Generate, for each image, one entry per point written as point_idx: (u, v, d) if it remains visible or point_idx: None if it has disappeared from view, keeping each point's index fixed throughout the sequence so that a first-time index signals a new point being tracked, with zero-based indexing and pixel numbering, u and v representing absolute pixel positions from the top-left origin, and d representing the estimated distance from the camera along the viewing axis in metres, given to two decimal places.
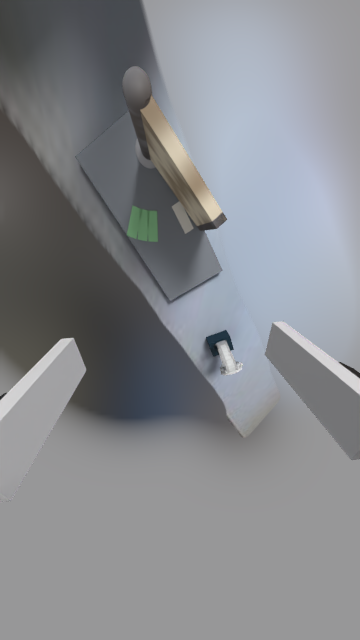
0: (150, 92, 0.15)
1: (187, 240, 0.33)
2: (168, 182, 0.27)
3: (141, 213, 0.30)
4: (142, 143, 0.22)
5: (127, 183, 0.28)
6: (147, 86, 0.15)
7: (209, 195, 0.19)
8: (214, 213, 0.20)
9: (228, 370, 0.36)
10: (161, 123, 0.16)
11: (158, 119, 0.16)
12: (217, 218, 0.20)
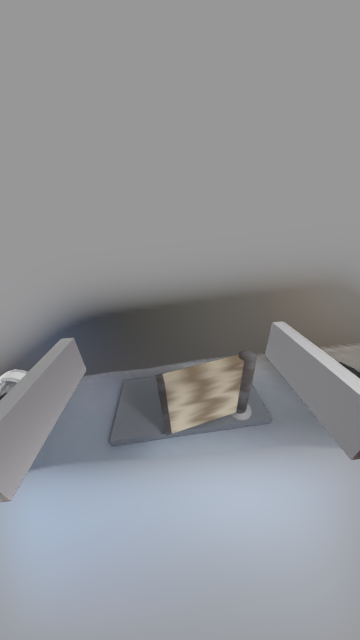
0: (245, 360, 0.25)
1: None
2: None
3: None
4: None
5: None
6: (247, 360, 0.25)
7: (180, 376, 0.23)
8: (166, 376, 0.23)
9: (14, 371, 0.30)
10: (230, 361, 0.25)
11: (232, 360, 0.25)
12: (162, 377, 0.23)
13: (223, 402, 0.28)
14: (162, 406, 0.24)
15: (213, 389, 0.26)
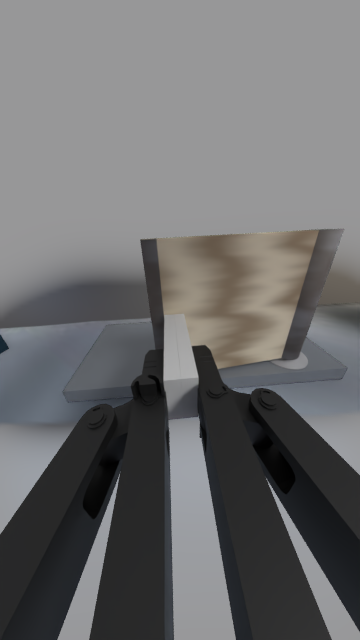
0: (321, 229, 0.12)
1: None
2: None
3: None
4: None
5: None
6: (327, 229, 0.12)
7: (190, 237, 0.11)
8: None
9: None
10: (289, 231, 0.13)
11: None
12: None
13: (263, 329, 0.16)
14: (153, 307, 0.13)
15: (250, 292, 0.14)
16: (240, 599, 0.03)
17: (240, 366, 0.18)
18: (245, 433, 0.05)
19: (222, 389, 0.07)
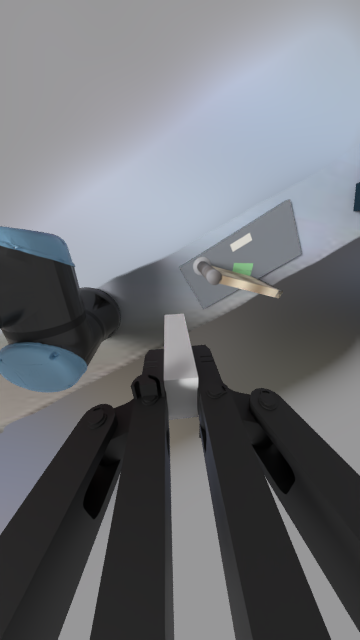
0: (221, 275, 0.30)
1: (257, 238, 0.40)
2: None
3: None
4: None
5: None
6: (219, 274, 0.30)
7: (267, 288, 0.32)
8: (274, 293, 0.33)
9: None
10: (230, 280, 0.31)
11: (228, 280, 0.31)
12: (277, 294, 0.33)
13: (223, 270, 0.38)
14: None
15: (236, 276, 0.35)
16: (240, 599, 0.03)
17: (219, 250, 0.40)
18: (245, 433, 0.05)
19: (222, 389, 0.07)
